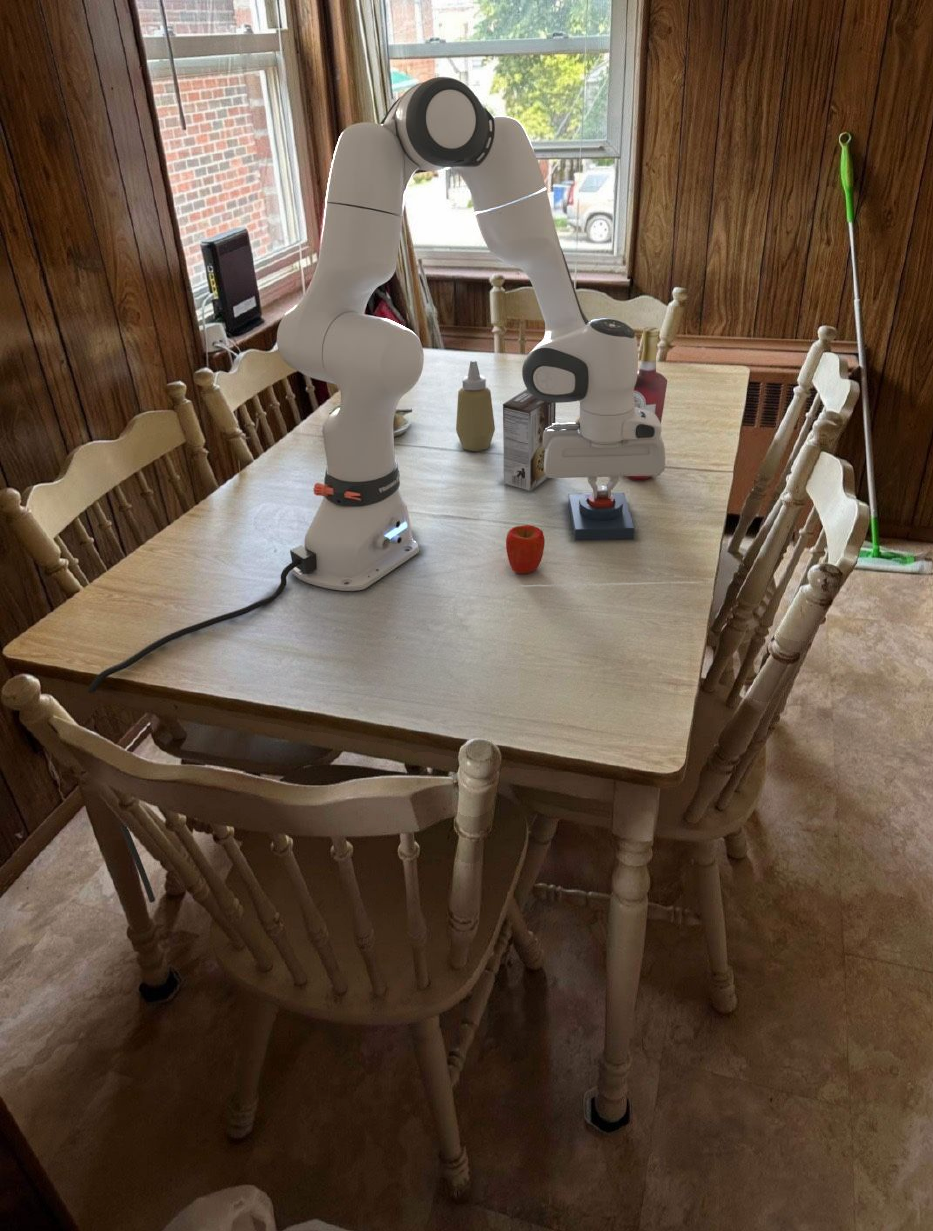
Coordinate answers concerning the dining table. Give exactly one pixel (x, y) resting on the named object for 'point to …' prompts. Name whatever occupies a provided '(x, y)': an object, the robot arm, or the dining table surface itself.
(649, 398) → the liquor
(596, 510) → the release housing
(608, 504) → the lid button
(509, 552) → the apple
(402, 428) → the salad plate
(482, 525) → the dining table surface
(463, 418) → the squeeze bottle
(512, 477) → the coffee box
